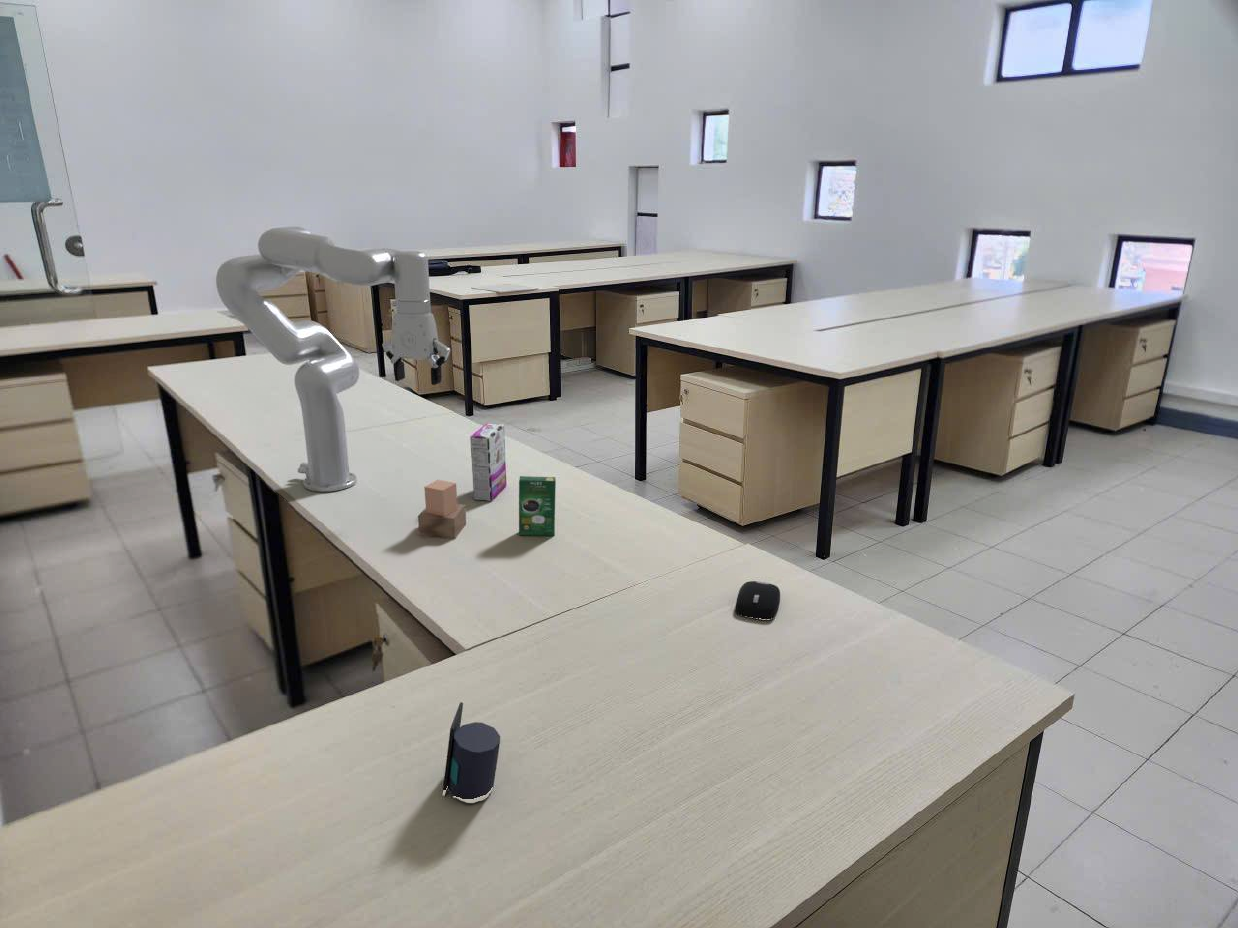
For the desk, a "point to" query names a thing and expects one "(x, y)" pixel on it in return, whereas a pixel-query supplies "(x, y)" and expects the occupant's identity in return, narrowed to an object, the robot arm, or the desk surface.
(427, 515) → the walnut block
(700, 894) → the desk surface
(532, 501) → the coffee box
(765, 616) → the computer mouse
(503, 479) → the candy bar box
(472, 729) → the speaker
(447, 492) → the peach-colored cube
